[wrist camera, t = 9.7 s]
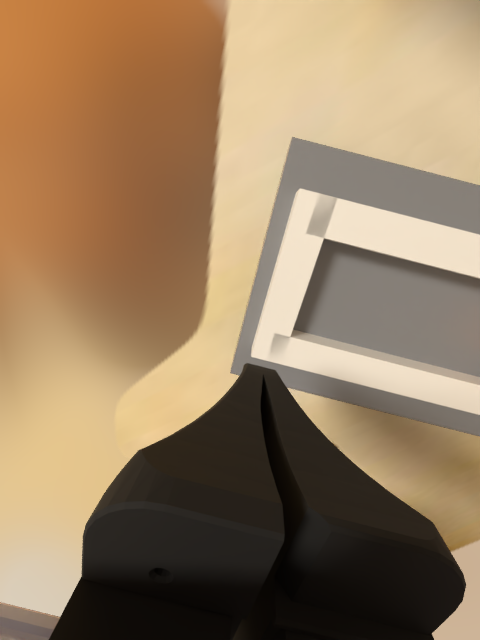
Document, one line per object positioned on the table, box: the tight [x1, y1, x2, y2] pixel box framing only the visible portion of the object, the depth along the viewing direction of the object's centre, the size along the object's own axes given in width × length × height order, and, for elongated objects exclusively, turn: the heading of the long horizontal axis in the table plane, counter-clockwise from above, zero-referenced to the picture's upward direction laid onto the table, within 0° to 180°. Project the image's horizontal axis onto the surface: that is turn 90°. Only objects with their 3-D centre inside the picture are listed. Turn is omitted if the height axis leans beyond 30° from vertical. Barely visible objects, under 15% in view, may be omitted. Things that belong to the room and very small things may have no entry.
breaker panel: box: [230, 137, 480, 436], centre depth 16 cm, size 15×24×4 cm, turn 76°
